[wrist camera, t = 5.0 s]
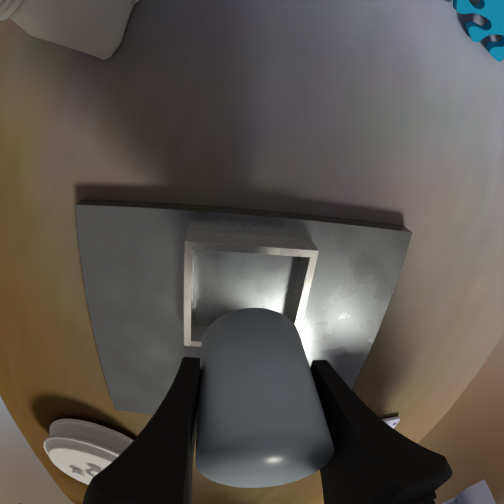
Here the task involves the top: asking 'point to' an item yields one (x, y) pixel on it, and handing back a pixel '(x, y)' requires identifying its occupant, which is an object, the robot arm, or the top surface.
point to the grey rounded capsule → (258, 403)
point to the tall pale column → (73, 22)
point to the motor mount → (227, 284)
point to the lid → (83, 447)
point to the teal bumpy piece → (499, 22)
